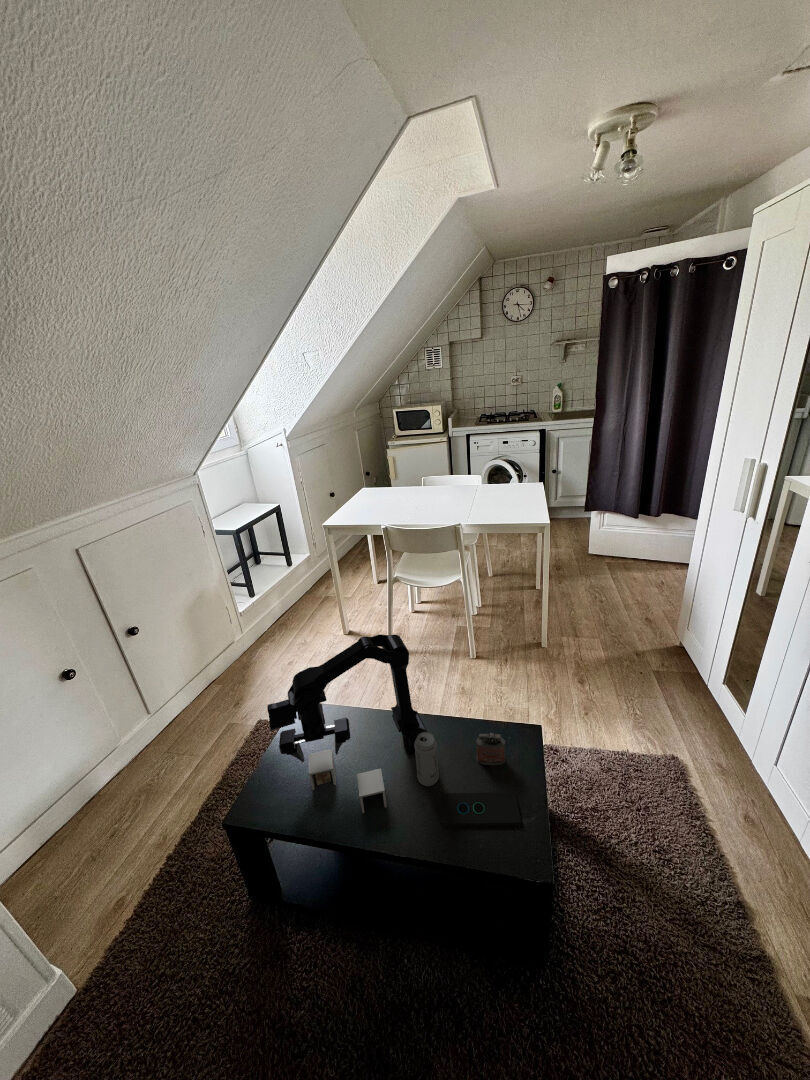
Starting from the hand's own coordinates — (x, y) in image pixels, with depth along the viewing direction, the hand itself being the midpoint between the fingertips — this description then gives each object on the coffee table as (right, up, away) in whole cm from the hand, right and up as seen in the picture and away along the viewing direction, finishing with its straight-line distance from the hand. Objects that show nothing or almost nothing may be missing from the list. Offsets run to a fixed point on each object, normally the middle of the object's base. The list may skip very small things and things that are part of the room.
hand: (320, 756), depth 118 cm
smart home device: (+43, -10, -9) cm, 45 cm away
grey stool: (+15, -9, -4) cm, 18 cm away
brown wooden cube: (0, -7, +3) cm, 8 cm away
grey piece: (0, -7, +3) cm, 8 cm away
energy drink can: (+30, -6, 0) cm, 31 cm away
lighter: (+49, -3, +4) cm, 49 cm away
